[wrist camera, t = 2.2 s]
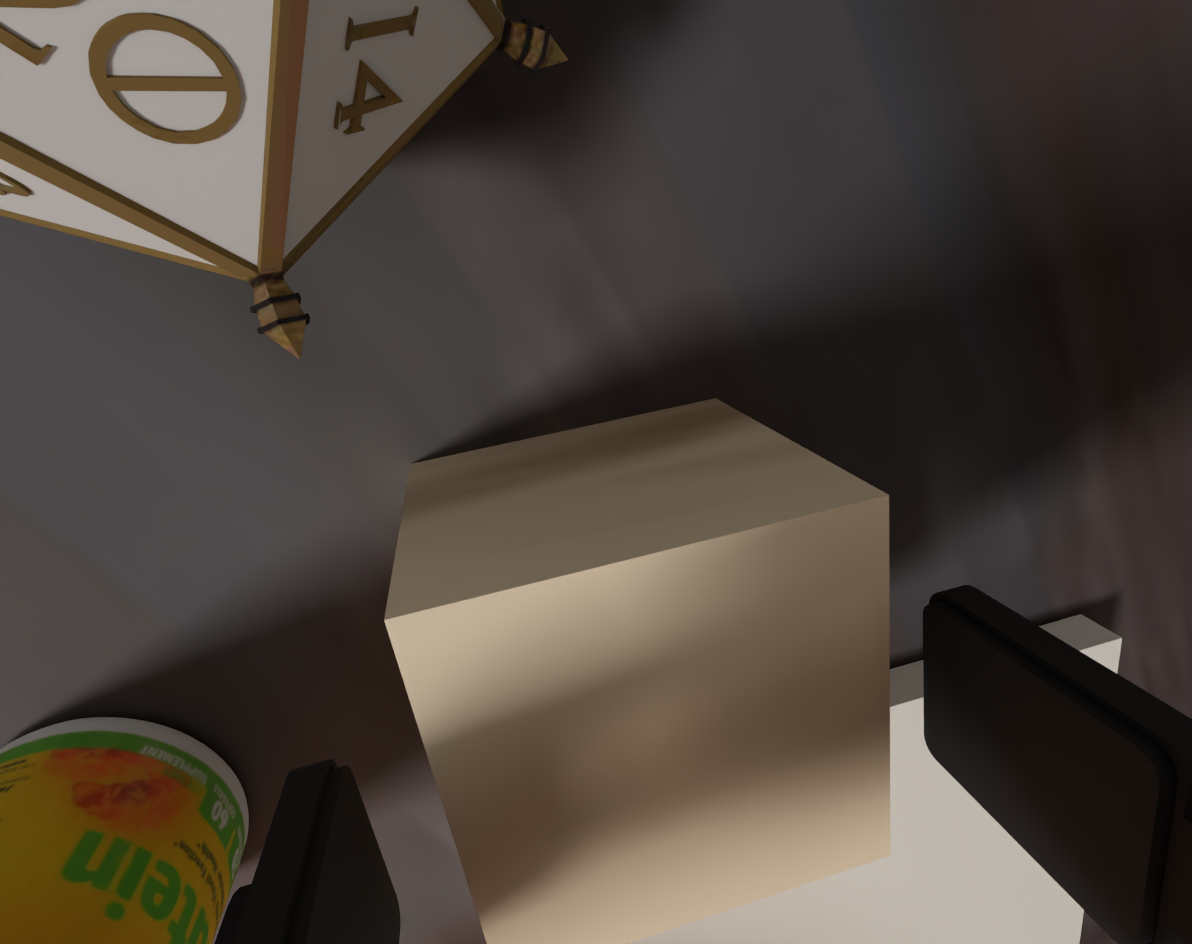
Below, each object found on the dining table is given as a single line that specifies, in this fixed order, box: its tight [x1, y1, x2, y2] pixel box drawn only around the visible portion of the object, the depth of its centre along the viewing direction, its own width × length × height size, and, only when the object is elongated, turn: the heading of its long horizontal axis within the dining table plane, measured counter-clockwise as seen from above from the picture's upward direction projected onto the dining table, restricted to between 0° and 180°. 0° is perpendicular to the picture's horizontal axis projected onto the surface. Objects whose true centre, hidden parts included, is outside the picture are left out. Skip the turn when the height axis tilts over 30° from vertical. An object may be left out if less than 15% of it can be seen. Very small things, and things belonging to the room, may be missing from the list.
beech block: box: [384, 398, 890, 944], centre depth 12 cm, size 6×6×6 cm
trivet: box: [628, 614, 1122, 944], centre depth 19 cm, size 14×14×1 cm
